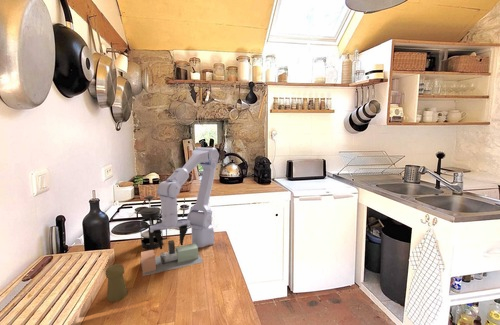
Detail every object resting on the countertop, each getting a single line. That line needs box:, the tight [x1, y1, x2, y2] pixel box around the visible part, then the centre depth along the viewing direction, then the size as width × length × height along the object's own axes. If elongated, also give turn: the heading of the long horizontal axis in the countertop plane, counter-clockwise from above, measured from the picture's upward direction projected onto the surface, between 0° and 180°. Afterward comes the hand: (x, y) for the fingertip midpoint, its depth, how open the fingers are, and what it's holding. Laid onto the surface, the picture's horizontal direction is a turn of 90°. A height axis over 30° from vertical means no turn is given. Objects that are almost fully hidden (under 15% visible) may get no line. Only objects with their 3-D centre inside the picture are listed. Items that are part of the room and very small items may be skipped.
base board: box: [140, 252, 204, 277], centre depth 106 cm, size 22×12×1 cm, turn 115°
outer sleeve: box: [175, 243, 199, 262], centre depth 108 cm, size 8×4×4 cm, turn 115°
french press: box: [138, 195, 168, 251], centre depth 118 cm, size 12×9×23 cm
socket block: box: [140, 249, 156, 273], centre depth 102 cm, size 4×8×4 cm, turn 25°
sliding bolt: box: [159, 239, 178, 263], centre depth 106 cm, size 14×3×7 cm, turn 115°
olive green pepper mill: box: [105, 263, 128, 303], centre depth 85 cm, size 6×6×11 cm
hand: (171, 246), depth 105 cm, fingers open, 7 cm apart
